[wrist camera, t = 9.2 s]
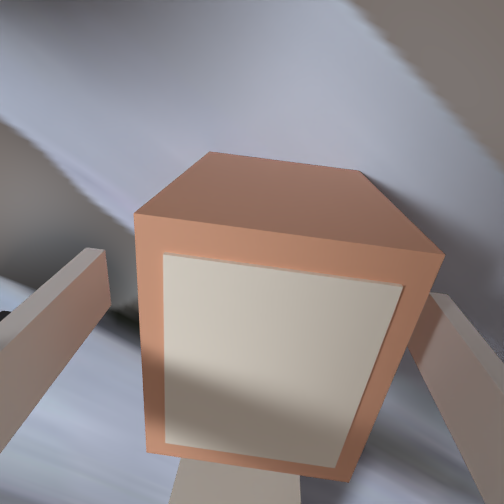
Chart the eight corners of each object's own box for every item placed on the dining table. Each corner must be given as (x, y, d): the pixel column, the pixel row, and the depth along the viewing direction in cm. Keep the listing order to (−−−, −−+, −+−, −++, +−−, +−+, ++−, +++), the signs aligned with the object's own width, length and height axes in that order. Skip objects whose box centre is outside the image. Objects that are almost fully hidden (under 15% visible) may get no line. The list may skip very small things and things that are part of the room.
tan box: (209, 151, 17) (131, 215, 8) (359, 170, 17) (448, 257, 8) (201, 304, 22) (145, 456, 13) (320, 321, 22) (349, 486, 12)
